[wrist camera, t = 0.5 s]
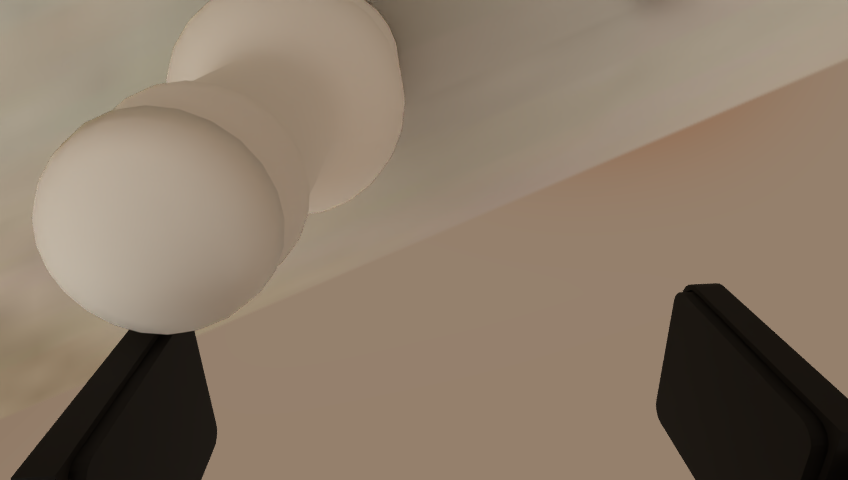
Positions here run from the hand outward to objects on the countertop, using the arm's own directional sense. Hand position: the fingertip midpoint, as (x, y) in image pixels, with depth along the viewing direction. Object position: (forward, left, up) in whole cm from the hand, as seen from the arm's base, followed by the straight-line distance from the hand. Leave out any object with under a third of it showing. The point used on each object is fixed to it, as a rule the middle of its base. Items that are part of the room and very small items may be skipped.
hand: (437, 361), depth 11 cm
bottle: (-3, -5, -29) cm, 29 cm away
